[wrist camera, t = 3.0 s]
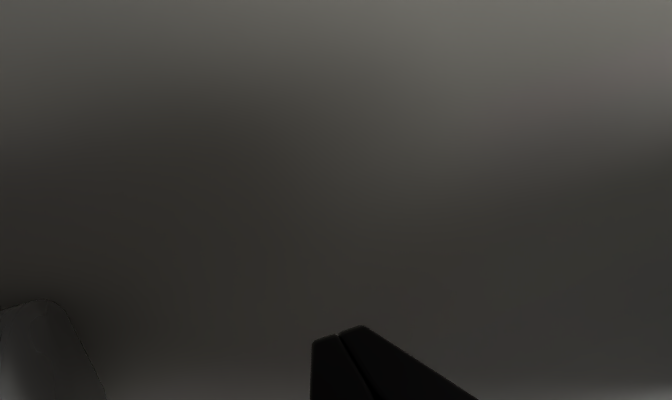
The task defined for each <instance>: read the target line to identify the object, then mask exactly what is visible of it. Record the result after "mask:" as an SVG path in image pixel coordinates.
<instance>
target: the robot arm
mask: <svg viewBox="0 0 672 400" xmlns="http://www.w3.org/2000/svg"><path fill="white" fill-rule="evenodd" d="M310 400H478V399H477V398H475V397H474V396H472V395H471V394H469V393H467V392H466V391H464V390H463V389H461V388H460V387H458V386H457V385H455V384H454V383H452V382H451V381H449V380H447V379H446V378H444V377H443V376H441V375H440V374H438V373H437V372H435V371H434V370H432V369H431V368H429V367H427V366H426V365H424V364H423V363H421V362H420V361H418V360H417V359H415V358H414V357H412V356H410V355H409V354H407V353H406V352H404V351H403V350H401V349H400V348H398V347H397V346H395V345H394V344H392V343H390V342H389V341H387V340H386V339H384V338H383V337H381V336H380V335H378V334H377V333H375V332H374V331H372V330H370V329H369V328H367V327H366V326H362V325H360V326H356V327H353V328H350V329H347V330H344V331H342V332H340V334H339V336H338V335H336V334H332V335H329V336H326V337H323V338H320V339H317V340H314V341H313V343H312V348H311V377H310Z"/></svg>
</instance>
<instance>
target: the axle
mask: <svg viewBox="0 0 672 400" xmlns="http://www.w3.org/2000/svg"><path fill="white" fill-rule="evenodd" d="M0 400H107V399H106V395H105V392H104V388H103V386H102V384H101V382H100V380H99V378H98V376H97V374H96V372H95V370H94V368H93V366H92V364H91V362H90V360H89V358H88V356H87V354H86V352H85V350H84V348H83V346H82V344H81V342H80V340H79V338H78V336H77V334H76V332H75V330H74V328H73V326H72V324H71V322H70V320H69V318H68V316H67V314H66V312H65V311H64V309H62V308H61V307H60V306H59V305H57V304H56V303H54V302H52V301H50V300H45V299H40V300H35V301H31V302H28V303H24V304H21V305H17V306H14V307H10V308H7V309H3V310H0Z"/></svg>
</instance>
